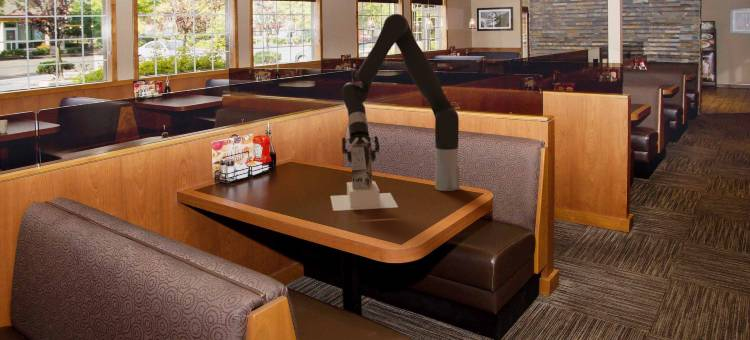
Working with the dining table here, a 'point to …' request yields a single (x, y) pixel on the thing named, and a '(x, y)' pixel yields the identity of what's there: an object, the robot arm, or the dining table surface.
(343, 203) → the mat
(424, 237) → the dining table surface
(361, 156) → the grey tall block
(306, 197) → the dining table surface
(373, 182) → the beige cube with notch
